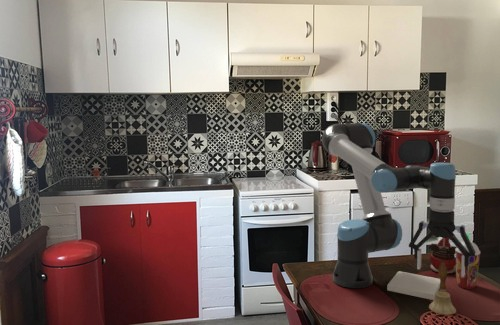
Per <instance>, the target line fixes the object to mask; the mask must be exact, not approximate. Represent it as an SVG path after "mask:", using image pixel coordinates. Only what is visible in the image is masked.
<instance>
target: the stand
mask: <svg viewBox="0 0 500 325" xmlns="http://www.w3.org/2000/svg"><path fill="white" fill-rule="evenodd" d="M386 289H387V290H386V291H389V292H393V293H399V294H403V295H408V296H413V297H417V298H421V299H427V300H431V301H434V298H435V293H436V292H437V291H440V278H436V277H433V276H426V275H421V274H416V273H410V272H405V271H400V270H399V271H397V272H396V273H395V275H394V276H393V278H391V279H390V280H389V282H388V284H387V287H386Z"/></svg>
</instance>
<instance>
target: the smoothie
mask: <svg viewBox="0 0 500 325" xmlns="http://www.w3.org/2000/svg"><path fill="white" fill-rule="evenodd" d="M466 234H467V236H468V238H469V239H470V233H466ZM470 242H471V244H472V246H473V248H474V250H475V252H476V253H475V256H470V257H469V265H468V267H466V266H465V275H464V277H461V265H462V255H463V254H462V253H461V251H460V250H459V249H458V248H456V249H455V251H456V252H455V253H456V254H455V257H456V265H455V268H456V271H455V280H456V283H457V285H458V287H459V288H462V289H466V290H467V289H469V290H472V289H475V287H476V286H477V284H478V277H479V276H478V275H479V274H478V273H479V266H480V257H481V250H480V249H479V247H478V245H477V244H476V243H475V242H473V241H471V240H470ZM460 243H461V244H462V245H463V246H464V247H465V248H466V250H467V251H468V249H467V247H466V245H465V243H464V241H460ZM468 252H469V251H468Z"/></svg>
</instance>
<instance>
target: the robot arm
mask: <svg viewBox="0 0 500 325" xmlns="http://www.w3.org/2000/svg"><path fill="white" fill-rule="evenodd" d="M321 135H322V136H321V143H322V144H321V145H322V146H323V148H324V149H325V151H326V152H328V153H329V154H330V155H331V156H333V157H339V158H340V159H341V160H343V161H344V162H346V163H347V164H348V165H350V166H351V168H352V172H353V176H354V180H355V185H356V188H357V191H358V196H359V200H360V203H361V206H362V210H363V217H362V218H361V219H360V218H359V219H358V218H356V219H354V218H353V219H348V220H344V221H342V222H340V223H339V225H338V227H337V234H336V238H337V261H336V264H335V267H334V269H333V272H332V273H333V274H332V281H333V282H334V283H335V285H338V286H340V287H344V288H348V289H363V288H367V287H370V286H371V285H372V284H373V278H374V277H373V274H372V270H371V268H370V264H369V254H370V253H376V252H380V251H388V250H391V249H395V248H396V247H398V246H400V244H401V241H402V240H403V239H402V238H403V229H402V225H401V224H400V222H399V221H398V220H397V219H394V218H393V217H392V213H391V212H389V211H388V210H386V206H385V203H384V199H383V196H382V193H389V192H395V191H403V190H405V191H406V190H412V189H424V190H429V209H430V210H429V218H428V220H429V221H428V222H426V221H424V220H421V221H420V222H419V224H418V228H417V230H416V232H415V234H414V235H413V237H412V239H411V240H410V242H409V243H408V248H412V249H413V255H414V257H413V258H414V259H416V261H417V262H416V264H417V265H416V269H417V270H421V268H422V248H421V247H422V246H423V245H424V244H425V243H427V241H428V240H429V239H431V238H432V237H433V236H434V237H435V238H441V239H442V238H449V241H450V242H452V243H453V244H454V245H455V247H457V248H458V249H459V250H460V251H461V253H462V254H463V255H462V265H461V277H464V275H465V266H466V267H468V265H469V257H470V256H475V253H476V252H475V250H474V248H473V246H472V244H471V242H472V241H471V240H470V237H469V238H468V236H467V234H468V233H466V226H465V225H464V224H462V225H455V211H454V210H455V205H456V204H455V203H456V197H455V196H456V195H455V193H456V178H457V176H456V166H455V164H454V163H451V162H433V163H431V164H430V167H426V166H419V165H406V166H405V167H397V168H395V167H392V166H391V165H389V164H387V163H385V162H384V161H383V160H380V158H378V157H376V156H374V155H373V154H372V153H373V148H374V146H375V145H376V144H375V143H376V142H375V141H376V134H375V131H374V130H373V128H372V127H371V126H370V125H369V124H367V123H361V122H355V123H353V122H351V123H349V122H348V123H334V124H331V125H329V126H328V127H326V128H325V130H324V131H323V133H322V134H321ZM426 228H427V229H428V230H429V232H428V233H427V234H426V235H425V236H424V237H423V238H422V239H421V240H420V241H419V242H418V243H417V244H416V241H417V240H418V238H419V237H420V236H421V234H422V232H423V230H424V229H426ZM455 231H457V233H459V234H460V236H461V239H462V240H463V241H464V243H465V245H466V247H467V249H468V251H469V252H468V251H467V250H466V248H465V247H464V246H463V245H462V244H461V241H460V240H459V239H458V238H457V237H456V234H455V233H454V232H455ZM463 241H462V242H463ZM470 241H471V242H470Z"/></svg>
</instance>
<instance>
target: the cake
mask: <svg viewBox="0 0 500 325" xmlns="http://www.w3.org/2000/svg"><path fill="white" fill-rule="evenodd" d="M428 248H429V250H431V251H432V253H431V254H430V259H429V260H430V263H431V264H430V266H429V268H430V269H431V270H432V271H434V272H437V273H439V267H440V265H441V262H444V263H445V265H446V268H447V274H453V273H456V253H455V252H456V251H455V249H456V248H457V247H456V246H453V245H451V242H450V239H449V238H442V237H441V239H440V240H439V241H438V243H431V244H429V247H428Z"/></svg>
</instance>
